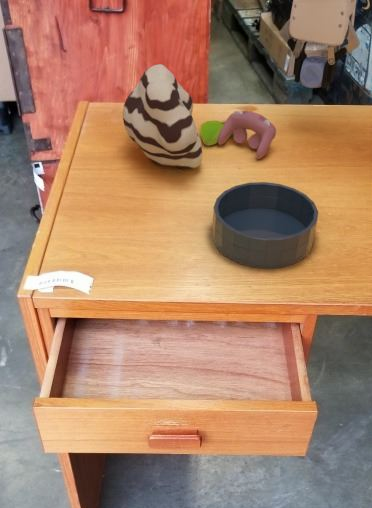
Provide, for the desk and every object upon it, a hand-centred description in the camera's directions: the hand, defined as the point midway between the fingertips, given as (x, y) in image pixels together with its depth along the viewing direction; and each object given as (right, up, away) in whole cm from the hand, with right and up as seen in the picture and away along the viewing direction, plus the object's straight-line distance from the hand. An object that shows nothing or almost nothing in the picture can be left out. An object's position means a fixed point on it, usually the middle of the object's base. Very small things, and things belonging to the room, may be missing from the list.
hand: (312, 81), depth 107 cm
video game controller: (-12, -11, +2) cm, 17 cm away
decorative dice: (0, 0, 0) cm, 1 cm away
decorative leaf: (-17, -7, +6) cm, 19 cm away
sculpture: (-27, -14, 0) cm, 31 cm away
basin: (-11, -32, -16) cm, 38 cm away
